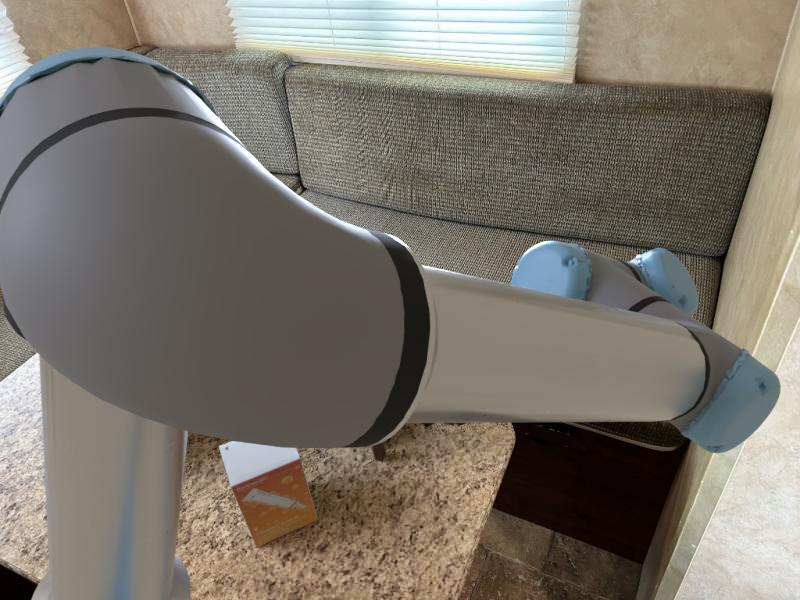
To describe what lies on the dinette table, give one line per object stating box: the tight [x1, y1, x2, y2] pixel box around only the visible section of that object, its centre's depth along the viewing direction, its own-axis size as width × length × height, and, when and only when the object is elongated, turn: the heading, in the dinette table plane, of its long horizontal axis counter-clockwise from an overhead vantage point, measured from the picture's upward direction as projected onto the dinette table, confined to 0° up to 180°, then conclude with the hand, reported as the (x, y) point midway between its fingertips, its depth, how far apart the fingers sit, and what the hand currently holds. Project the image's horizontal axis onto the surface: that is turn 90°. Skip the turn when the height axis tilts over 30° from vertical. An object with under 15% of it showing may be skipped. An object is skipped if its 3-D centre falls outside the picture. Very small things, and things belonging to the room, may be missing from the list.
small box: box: [218, 440, 319, 548], centre depth 72 cm, size 8×6×13 cm
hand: (423, 410), depth 84 cm, fingers closed on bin, 3 cm apart
